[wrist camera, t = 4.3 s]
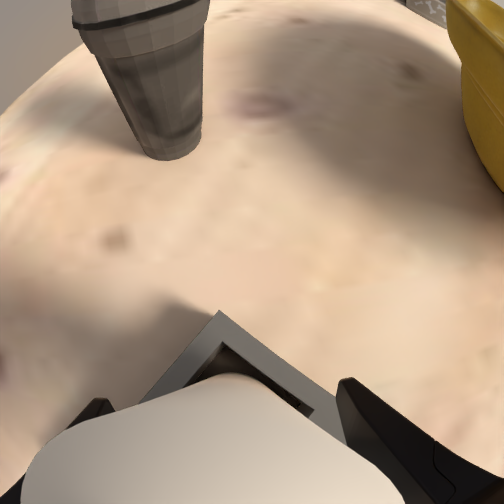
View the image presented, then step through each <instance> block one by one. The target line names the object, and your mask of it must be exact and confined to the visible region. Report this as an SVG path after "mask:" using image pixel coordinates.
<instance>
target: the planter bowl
mask: <svg viewBox="0 0 504 504" xmlns="http://www.w3.org/2000/svg"><path fill="white" fill-rule="evenodd" d="M446 23H447V31H448V34H449V38H450V40H451V43H452V45H453V47H454V49H455V50H456V52H457V54H458V55H459V58H460V60H461V62H462V66H461V89H462V106H463V115H464V120H465V124H466V127H467V130H468V132H469V134H470V137H471V139H472V142H473V145H474V147H475V149H476V152H477V154H478V155H479V157H480V159H481V161H482V163H483V165H484V166H485V168H486V170H487V171H488V173H489V174H490V176H491V177H492V179H493V180H494V182H495V183H496V184H497V186H498V187H499V188H500V190H501V191H502V192H503V193H504V9H503V8H502V7H500V6H499V5H497V4H496V3H494V2H492V1H490V0H446Z"/></svg>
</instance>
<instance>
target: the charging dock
mask: <svg viewBox="0 0 504 504" xmlns="http://www.w3.org/2000/svg"><path fill="white" fill-rule="evenodd" d="M225 345H226V346H227V347H228V348H229V349H231V350H232V351H233V352H235V353H236V354H237V355H238V356H240V357H241V358H242V359H243V360H245V361H246V362H247V363H249V364H250V365H251V366H253V367H254V368H255V369H256V370H258V371H259V372H260V373H262V374H263V375H264V376H266V377H267V378H268V379H270V380H271V381H273V382H274V383H275V384H277V385H278V386H279V387H281V388H282V389H284V390H285V391H286V392H288V393H289V394H291V395H292V396H293V397H295V398H296V399H298V400H299V401H300V402H302V403H301V404H300V405H299V407H298V408H297V409H296V410H297V411H298V412H300V413H301V414H302V415H304V416H305V417H306V418H308V419H309V420H310V421H312V422H313V423H314V424H316V425H317V426H319V427H320V428H321V429H323V430H324V431H326V432H327V433H328V434H330V435H331V436H333V437H334V438H335V439H337V440H338V441H340V442H341V443H343V444H344V445H346V446H347V444H346V440H345V436H344V432H343V428H342V424H341V420H340V416H339V412H338V408H337V404H336V397H335V396H333V395H332V394H330V393H329V392H327V391H326V390H325V389H323V388H322V387H320V386H319V385H317V384H316V383H315V382H313V381H312V380H310V379H309V378H308V377H306V376H305V375H303V374H302V373H301V372H299V371H298V370H297V369H295V368H294V367H292V366H291V365H290V364H288V363H287V362H286V361H284V360H283V359H282V358H280V357H279V356H278V355H276V354H275V353H274V352H272V351H271V350H270V349H268V348H267V347H266V346H264V345H263V344H262V343H261V342H259V341H258V340H257V339H255V338H254V337H253V336H252V335H250V334H249V333H248V332H246V331H245V330H244V329H243V328H241V327H240V326H239V325H238V324H236V323H235V322H234V321H232V320H231V319H230V318H229V317H228V316H226V315H225V314H224V313H223V312H221V311H220V310H219V311H218V312H217V313H216V314H215V315H214V316H213V318H212V319H211V320H210V321H209V322H208V324H207V325H206V326H205V327H204V328H203V329H202V331H201V332H200V333H199V334H198V335H197V336H196V338H195V339H194V340H193V341H192V342H191V343H190V345H189V346H188V347H187V348H186V349H185V350H184V352H183V353H182V354H181V355H180V356H179V357H178V359H177V360H176V361H175V362H174V363H173V364H172V366H171V367H170V368H169V369H168V370H167V371H166V373H165V374H164V375H163V376H162V377H161V378H160V380H159V381H158V382H157V383H156V384H155V385H154V386H153V388H152V389H151V390H150V391H149V392H148V393H147V395H146V396H145V397H144V398H143V399H142V400H141V401H140V403H139V404H141V403H144V402H147V401H150V400H153V399H155V398H158V397H161V396H164V395H167V394H169V393H172V392H175V391H177V390H180V389H183V388H185V387H188V386H190V385H192V384H193V383H194V382H195V381H196V379H197V378H198V377H199V376H200V375H201V374H202V372H203V371H204V370H205V369H206V368H207V367H208V365H209V364H210V363H211V362H212V361H213V359H214V358H215V357H216V356H217V355H218V354H219V352H220V351H221V350H222V349H223V348H224V346H225Z"/></svg>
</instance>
